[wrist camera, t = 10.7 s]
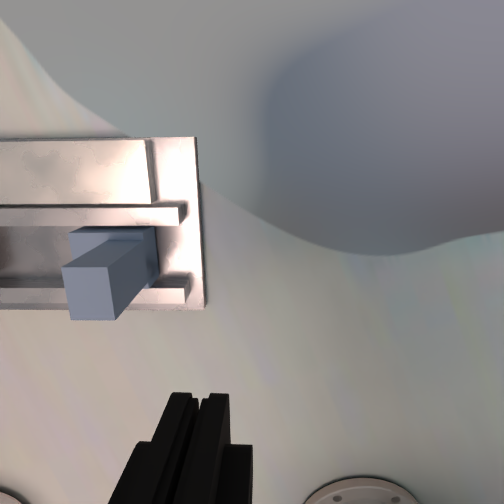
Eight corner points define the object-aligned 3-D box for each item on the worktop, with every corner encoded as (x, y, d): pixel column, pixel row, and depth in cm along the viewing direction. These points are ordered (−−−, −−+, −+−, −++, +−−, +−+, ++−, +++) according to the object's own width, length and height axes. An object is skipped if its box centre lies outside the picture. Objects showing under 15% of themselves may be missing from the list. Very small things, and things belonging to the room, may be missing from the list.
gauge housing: (196, 137, 23) (177, 133, 18) (206, 304, 27) (192, 341, 22) (-144, 141, 24) (-258, 139, 19) (-88, 303, 28) (-169, 339, 23)
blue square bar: (154, 224, 24) (105, 257, 16) (159, 276, 25) (116, 328, 18) (86, 225, 24) (8, 257, 17) (94, 276, 25) (25, 328, 18)
